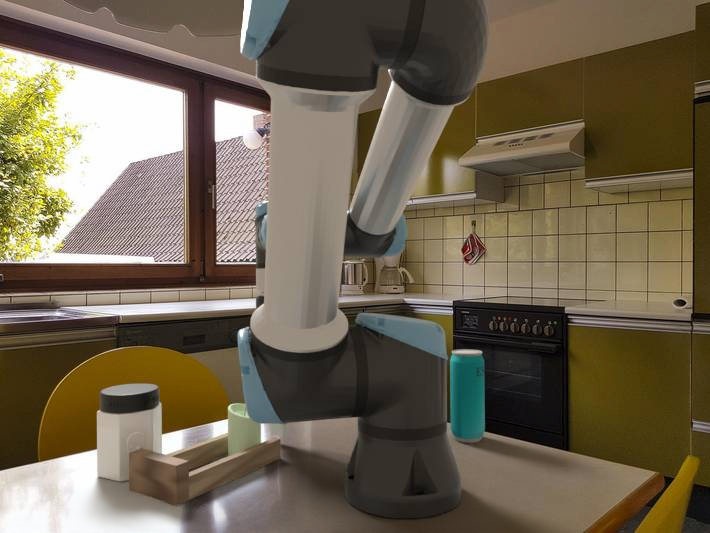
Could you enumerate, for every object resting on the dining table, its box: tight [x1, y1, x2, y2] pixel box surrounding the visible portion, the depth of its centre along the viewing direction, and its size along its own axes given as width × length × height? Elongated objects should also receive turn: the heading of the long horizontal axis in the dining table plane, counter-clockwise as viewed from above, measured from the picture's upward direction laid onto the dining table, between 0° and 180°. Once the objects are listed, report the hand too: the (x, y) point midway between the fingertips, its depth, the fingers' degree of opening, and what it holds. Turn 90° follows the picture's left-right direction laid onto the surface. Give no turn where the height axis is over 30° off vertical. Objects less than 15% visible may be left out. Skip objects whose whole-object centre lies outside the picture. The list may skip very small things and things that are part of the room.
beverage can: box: [449, 348, 486, 444], centre depth 95 cm, size 6×6×15 cm
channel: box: [128, 432, 282, 507], centre depth 80 cm, size 9×20×5 cm, turn 148°
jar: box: [96, 382, 163, 483], centre depth 81 cm, size 9×8×12 cm
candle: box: [227, 402, 262, 457], centre depth 86 cm, size 5×5×8 cm
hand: (279, 434), depth 93 cm, fingers closed
